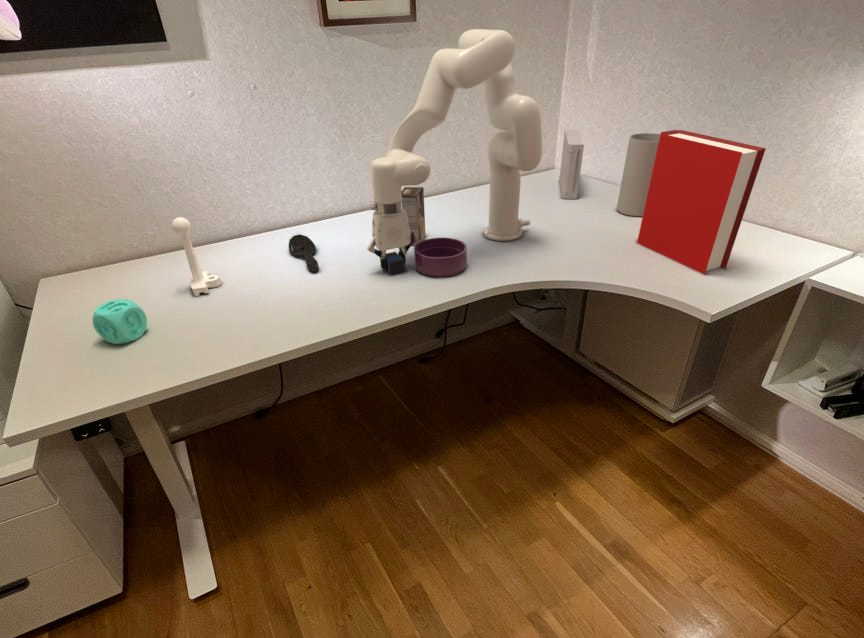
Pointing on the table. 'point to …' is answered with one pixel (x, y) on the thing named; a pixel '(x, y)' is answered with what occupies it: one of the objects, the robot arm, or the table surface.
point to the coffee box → (414, 211)
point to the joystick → (194, 260)
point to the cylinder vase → (637, 173)
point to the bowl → (440, 257)
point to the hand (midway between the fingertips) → (393, 267)
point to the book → (698, 197)
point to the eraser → (395, 263)
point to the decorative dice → (119, 321)
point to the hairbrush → (304, 250)
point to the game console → (571, 164)
